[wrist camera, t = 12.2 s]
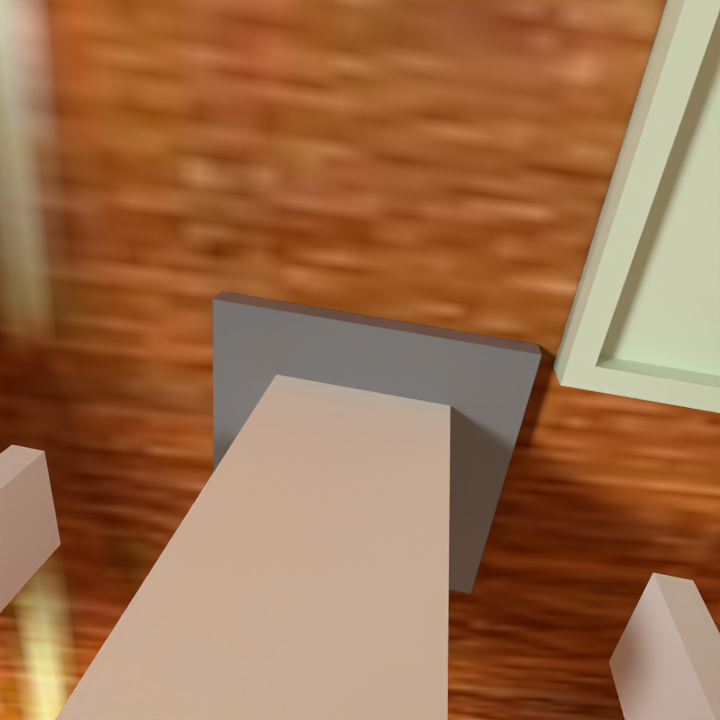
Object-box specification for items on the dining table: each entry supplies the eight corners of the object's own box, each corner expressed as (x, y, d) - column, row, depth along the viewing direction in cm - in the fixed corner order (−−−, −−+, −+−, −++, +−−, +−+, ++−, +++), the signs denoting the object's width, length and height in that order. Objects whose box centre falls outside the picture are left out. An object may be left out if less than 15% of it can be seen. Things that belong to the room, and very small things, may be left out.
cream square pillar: (276, 374, 14) (36, 749, 6) (453, 406, 14) (455, 854, 6) (268, 510, 16) (82, 928, 8) (423, 542, 16) (391, 1013, 8)
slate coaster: (221, 291, 14) (212, 299, 13) (538, 344, 13) (541, 354, 13) (221, 526, 18) (213, 540, 17) (470, 578, 17) (470, 593, 16)
